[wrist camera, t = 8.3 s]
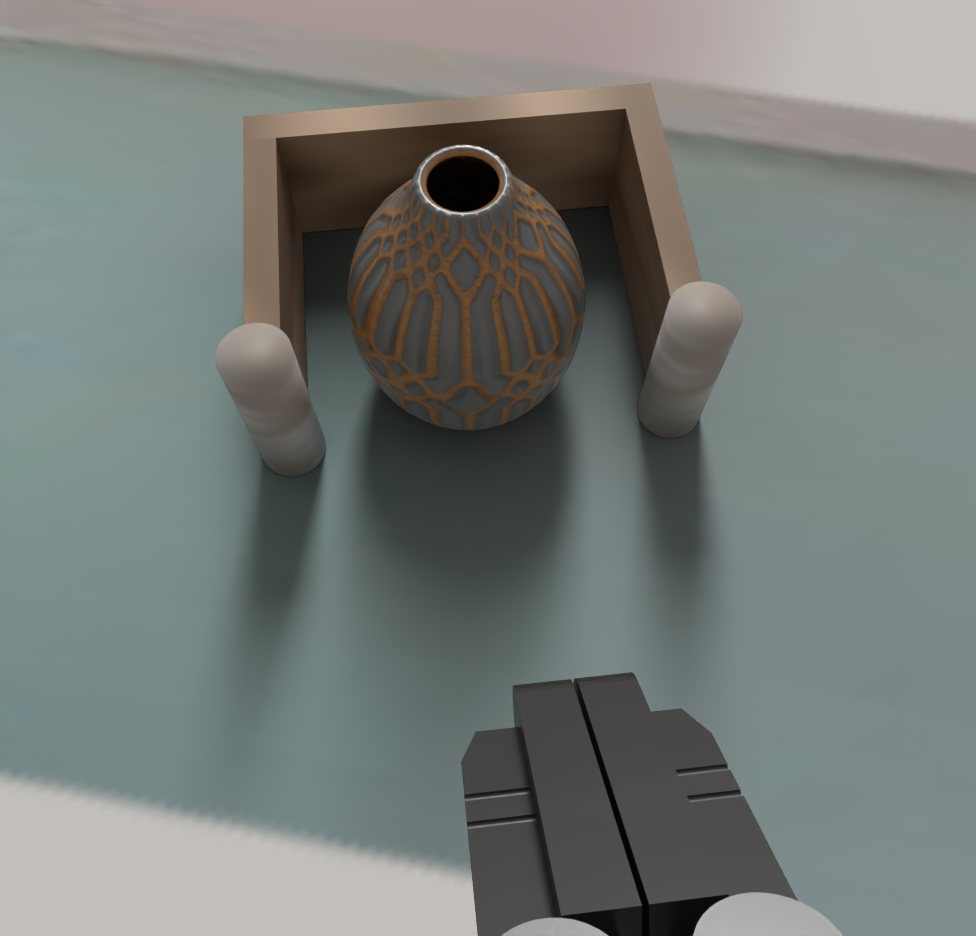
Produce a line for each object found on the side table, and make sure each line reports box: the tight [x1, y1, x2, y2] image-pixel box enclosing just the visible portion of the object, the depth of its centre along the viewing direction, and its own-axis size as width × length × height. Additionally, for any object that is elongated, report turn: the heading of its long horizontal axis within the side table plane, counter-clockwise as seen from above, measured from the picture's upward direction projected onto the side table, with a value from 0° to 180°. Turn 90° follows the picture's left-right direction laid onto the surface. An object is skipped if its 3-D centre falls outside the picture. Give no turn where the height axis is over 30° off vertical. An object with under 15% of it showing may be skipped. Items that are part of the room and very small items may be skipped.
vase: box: [348, 145, 585, 430], centre depth 26 cm, size 7×7×9 cm
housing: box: [215, 83, 743, 477], centre depth 29 cm, size 14×10×6 cm
